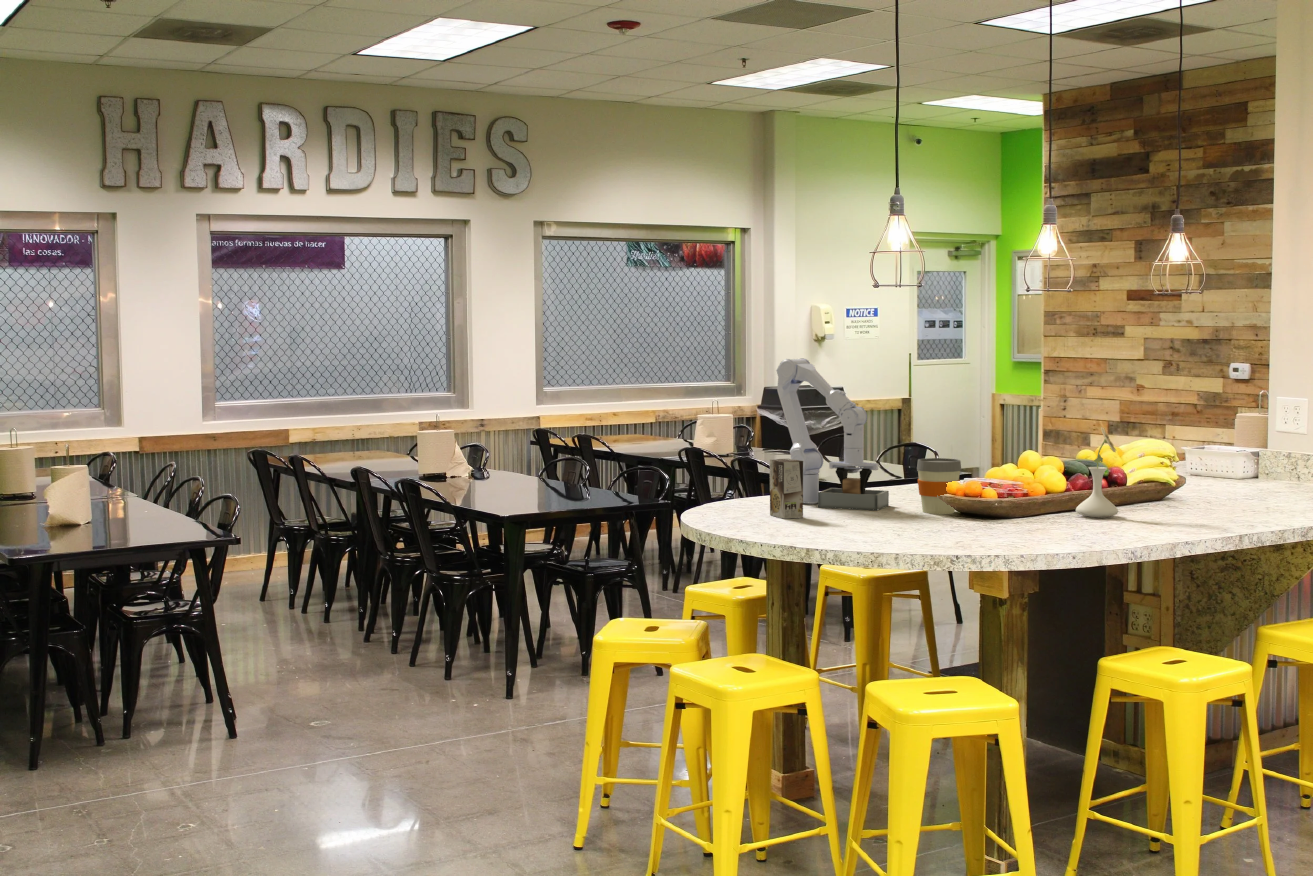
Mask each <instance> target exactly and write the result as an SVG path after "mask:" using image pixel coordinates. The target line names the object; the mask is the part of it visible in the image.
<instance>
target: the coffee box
mask: <svg viewBox="0 0 1313 876" xmlns="http://www.w3.org/2000/svg"><path fill="white" fill-rule="evenodd" d="M769 516H771V517H772V516H773V517H776V518H781V519H783V520H786V519H800V518H801V519H803V518H804V503H803V461H800V460H794V459H791V458H776V459H769Z"/></svg>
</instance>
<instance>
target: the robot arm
mask: <svg viewBox="0 0 1313 876" xmlns="http://www.w3.org/2000/svg"><path fill="white" fill-rule="evenodd" d="M775 371H776V375H777V385H776V387H777V394H778V397H779V401H780V404H781V407H782V410H783V415H784V419H785V422H786V425H787V429H788V432H789V435H790V438H791V442H792V446H791V448H790V449H789V454H790V459H794V460H800V461H803V504H809V505H814V504H815V505H816V504H818V492H820V490H819V484H820V481H819V479H820V475H819V473H820V470H821V468H822V467H823V466H824V457H823V455H822V453H821V452H820V451H819V449H818V446H817V445H816V443H814V442H813V441H812V440H811V436H810V434H809V431H808V428H807V423H806V419H805V417H804V413H803V409H802V406H801V403H800V400H799V396H798V393H797V391H798V389H799V387H800V386H801V384H802V383H803V382H807V383H808V384H809V385H811V386H812V387H813V388H814V389H815V390H817V392H818V393H820V394H821V395H822V396H823V397H824V398H825V403H826V405H827V406H828V407H829V408H830V409H831V410H832V411H833V412H834V414H836V415H837V416H838V417H839V420H840V423H841V425H842V426H843V449H844V450H843V461H829V462H828V465H829V467H828V469H831V470H832V469H836V470H835V474H836V476H837V478H838V480H839V483H840V486H841V489H842V491H843V480H844V479H846V478H848V473H849V470H859V471H858V472H859V478H860V483H861V485H860V490H861V494H865V490H866V489H867V486H868V485H867V484H868V482H869V479H870V476H871V475H872V473H873V471H878V470H879V462H878V463H877V462H876V463H875V462H864V448H865V447H864V441H865V440H864V438H865V437H864V436H865V435H864V434H865V432H864V426H865V424H866V423H867V421H868V413H867V411H866V410H865V408H864V407H863V406H857V404H856V403H855V402H853V401H852V400H851V399H850V398H848V397H847V395H846V394H847V393H846V392H845V391H844V390H840V389H834V388H833V387H832V386H831V385H830V383H828V381H827V380H825V378H824V377H823V376H822V375H821V374H820V373H819V371H818V370H817V369H816V367H815V365H814V364H813V363H811V362H810V360H808V359H807V358H792V359H791V358H784V359H782V361H780V363H779V365H778V366H777V369H776V370H775Z"/></svg>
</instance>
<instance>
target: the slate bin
mask: <svg viewBox="0 0 1313 876" xmlns="http://www.w3.org/2000/svg"><path fill="white" fill-rule="evenodd" d="M889 492H890V491H889V490H883V489H882V490H881V489H880V490H878V489H865V494H849V493H843V491H842V487H841V488H838V487H829V488H827V489H824V490H822V491H819V492H818V503H817V507H818V509H819V508H823V509H838V508H842V509H841V510H858V511H859V510H861V511H880V510H881V509H885V508H886V507H889V506H890V505H889V498H890V497H889V495H890V493H889Z"/></svg>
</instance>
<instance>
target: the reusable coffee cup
mask: <svg viewBox="0 0 1313 876" xmlns="http://www.w3.org/2000/svg"><path fill="white" fill-rule="evenodd" d="M961 463H962V461H961V460H960V459H958V458H956V459H955V458H944V457H943V458H942V457H941V458H940V457H934V458H932V457H930V458H918V459H917V466H916V470H917V473H918V478H917V486H918V493H919V495H920V500H921V508H922V513H925V514H930V515H948V514H949V515H950V514H955V510H956V508H955V509H954V508H953V507H951V506H950V505H947V504H946V503H945V502H943V501H942V500H940V499H939V498H937V495H938V496H940V495H944V494H947V491H946V487H947V484H946V483H948V482H952V481H960V482H961V479H960V474H961V471H962V464H961Z"/></svg>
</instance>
